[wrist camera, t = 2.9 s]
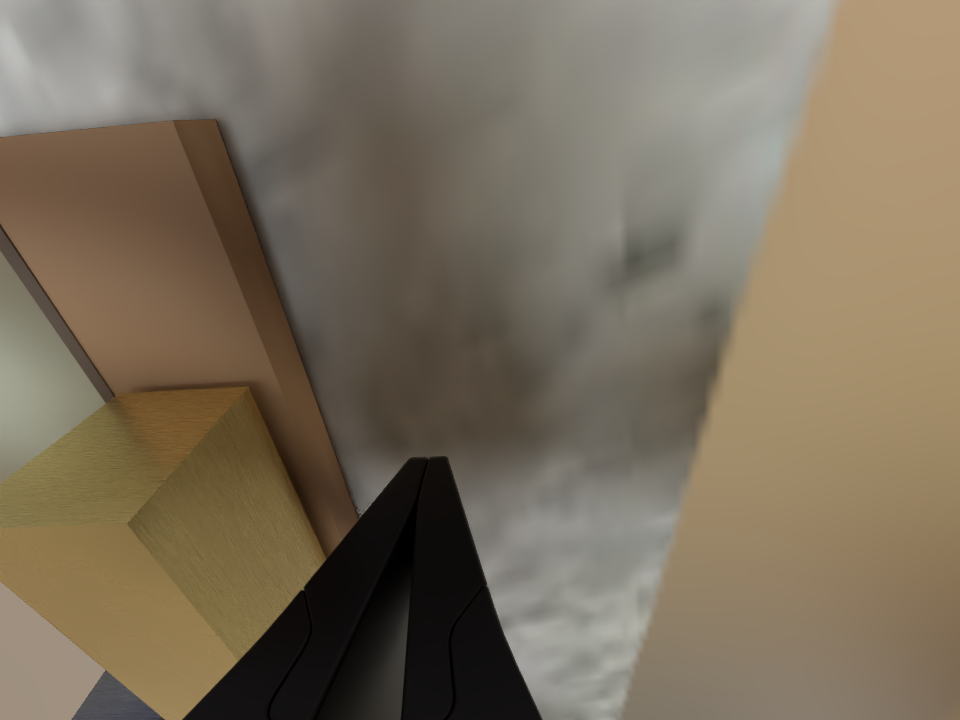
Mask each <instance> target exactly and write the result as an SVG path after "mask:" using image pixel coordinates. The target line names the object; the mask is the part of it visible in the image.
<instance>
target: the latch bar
mask: <svg viewBox="0 0 960 720" xmlns="http://www.w3.org/2000/svg"><path fill="white" fill-rule="evenodd" d="M325 560H326V557H325V555H324V552H323V550H322V548H321V546H320V544H319V541H318V539H317V537H316V535H315V533H314V530H313V528H312V526H311V524H310V522H309V519H308V517H307V515H306V513H305V510H304V508H303V506H302V504H301V502H300V499H299V497H298V495H297V493H296V491H295V488H294V486H293V484H292V482H291V480H290V477H289V475H288V473H287V471H286V469H285V466H284V464H283V462H282V460H281V458H280V455H279V453H278V451H277V449H276V447H275V444H274V442H273V440H272V438H271V436H270V433H269V431H268V429H267V427H266V425H265V422H264V420H263V418H262V416H261V413H260V411H259V409H258V407H257V405H256V402H255V400H254V398H253V396H252V394H251V391H250V389H249V387H248V386H247V387H229V388H210V389H191V390H172V391H154V392H135V393H119V394H118V395H116V396H115V397H114V398H112V399H111V400H110V401H109V402H107V403H106V404H105V405H103V406H102V407H101V408H99V409H98V410H97V411H95V412H94V413H93V414H91V415H90V416H89V417H87V418H86V419H85V420H84V421H82V422H81V423H80V424H78V425H77V426H76V427H74V428H73V429H72V430H70V431H69V432H68V433H66V434H65V435H64V436H62V437H61V438H60V439H58V440H57V441H56V442H55V443H53V444H52V445H51V446H49V447H48V448H47V449H45V450H44V451H43V452H41V453H40V454H39V455H37V456H36V457H35V458H33V459H32V460H31V461H30V462H28V463H27V464H26V465H24V466H23V467H22V468H20V469H19V470H18V471H16V472H15V473H14V474H12V475H11V476H10V477H8V478H7V479H6V480H4V481H3V482H2V483H1V484H0V582H2V583H3V584H4V585H5V586H6V587H8V588H9V589H10V590H11V591H12V592H14V593H15V594H16V595H17V596H18V597H20V598H21V599H22V600H23V601H24V602H25V603H27V604H28V605H29V606H30V607H31V608H33V609H34V610H35V611H36V612H37V613H39V614H40V615H41V616H42V617H44V618H45V619H46V620H47V621H48V622H49V623H50V624H52V625H53V626H54V627H55V628H56V629H58V630H59V631H60V632H61V633H62V634H64V635H65V636H66V637H67V638H68V639H70V640H71V641H72V642H73V643H74V644H75V645H77V646H78V647H79V648H80V649H82V650H83V651H84V652H85V653H86V654H87V655H89V656H90V657H91V658H92V659H93V660H95V661H96V662H97V663H98V664H99V665H101V666H102V667H103V668H104V669H105V670H106V671H108V672H109V673H110V674H111V675H112V676H114V677H115V678H116V679H117V680H118V681H120V682H121V683H122V684H123V685H124V686H125V687H127V688H128V689H129V690H130V691H131V692H133V693H134V694H135V695H136V696H137V697H139V698H140V699H141V700H142V701H143V702H145V703H146V704H147V705H148V706H149V707H150V708H152V709H153V710H154V711H155V712H156V713H158V714H159V715H160V716H161V717H162V718H164V719H165V720H182V719H183V718H184V717H185V716H186V715H187V714H188V713H189V712H190V711H191V710H192V709H193V708H194V707H195V706H196V705H197V703H198V702H199V701H200V700H201V699H202V698H203V697H204V696H205V695H206V694H207V693H208V692H209V691H210V690H211V689H212V688H213V687H214V686H215V685H216V684H217V683H218V682H219V681H220V680H221V679H222V678H223V677H224V676H225V674H226V673H227V672H228V671H229V670H230V669H231V668H232V667H233V666H234V665H235V664H236V663H237V662H238V661H239V660H240V659H241V658H242V657H243V656H244V654H245V653H246V652H247V651H248V650H249V649H250V648H251V647H252V646H253V645H254V644H255V643H256V642H257V640H258V639H259V638H260V637H261V636H262V635H263V634H264V633H265V632H266V630H267V629H268V628H269V627H270V626H271V625H272V623H273V622H274V621H275V620H276V619H277V618H278V617H279V615H280V614H281V613H282V612H283V611H284V610H285V608H286V607H287V606H288V605H289V604H290V602H291V601H292V600H293V599H294V598H295V596H296V595H297V594H298V593H299V591H300V590H304V586H305V584H306V583H307V582H308V581H309V580H310V578H311V577H312V576H313V575H314V573H315V572H316V571H317V570H318V569H319V567H320V566H321V565H322V564H323V563H324V561H325Z"/></svg>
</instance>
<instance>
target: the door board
mask: <svg viewBox="0 0 960 720" xmlns="http://www.w3.org/2000/svg"><path fill="white" fill-rule="evenodd" d="M247 386H248V387H249V389H250V391H251V394H252V396H253V398H254V400H255V402H256V405H257V407H258V409H259V411H260V413H261V416H262V418H263V420H264V422H265V425H266V427H267V429H268V431H269V433H270V436H271V438H272V440H273V442H274V444H275V447H276V449H277V451H278V453H279V455H280V458H281V460H282V462H283V464H284V466H285V469H286V471H287V473H288V475H289V477H290V480H291V482H292V484H293V486H294V488H295V491H296V493H297V495H298V497H299V499H300V502H301V504H302V506H303V508H304V510H305V513H306V515H307V517H308V519H309V522H310V524H311V526H312V528H313V530H314V533H315V535H316V537H317V539H318V541H319V544H320V546H321V548H322V550H323V552H324V555H325V557H326V559H327V558H328V557H329V555H330V554H331V553H332V552H333V550H334V549H335V548H336V547H337V546H338V544H339V543H340V542H341V541H342V540H343V538H344V537H345V536H346V535H347V533H348V532H349V531H350V530H351V529H352V527H353V526H354V525H355V524H356V523H357V521H358V517H357V514H356V512H355V509H354V506H353V503H352V500H351V498H350V495H349V492H348V489H347V486H346V484H345V481H344V478H343V475H342V472H341V470H340V467H339V464H338V461H337V458H336V456H335V453H334V450H333V447H332V444H331V442H330V439H329V436H328V433H327V430H326V428H325V425H324V422H323V419H322V417H321V414H320V411H319V408H318V405H317V403H316V400H315V397H314V394H313V391H312V389H311V386H310V383H309V380H308V377H307V375H306V372H305V369H304V366H303V363H302V361H301V358H300V355H299V352H298V349H297V347H296V344H295V341H294V338H293V335H292V333H291V330H290V327H289V324H288V321H287V319H286V316H285V313H284V310H283V307H282V305H281V302H280V299H279V296H278V293H277V291H276V288H275V285H274V282H273V279H272V277H271V274H270V271H269V268H268V265H267V263H266V260H265V257H264V254H263V252H262V249H261V246H260V243H259V240H258V238H257V235H256V232H255V229H254V226H253V224H252V221H251V218H250V215H249V212H248V210H247V207H246V204H245V201H244V198H243V196H242V193H241V190H240V187H239V184H238V182H237V179H236V176H235V173H234V170H233V168H232V165H231V162H230V159H229V156H228V154H227V151H226V148H225V145H224V142H223V140H222V137H221V134H220V131H219V128H218V126H217V123H216V120H215V119H205V120H174V121H163V122H152V123H142V124H132V125H122V126H111V127H101V128H91V129H80V130H70V131H60V132H49V133H39V134H29V135H18V136H8V137H0V484H1V483H2V482H3V481H4V480H6V479H7V478H8V477H10V476H11V475H12V474H14V473H15V472H16V471H18V470H19V469H20V468H22V467H23V466H24V465H26V464H27V463H28V462H30V461H31V460H32V459H33V458H35V457H36V456H37V455H39V454H40V453H41V452H43V451H44V450H45V449H47V448H48V447H49V446H51V445H52V444H53V443H55V442H56V441H57V440H58V439H60V438H61V437H62V436H64V435H65V434H66V433H68V432H69V431H70V430H72V429H73V428H74V427H76V426H77V425H78V424H80V423H81V422H82V421H84V420H85V419H86V418H87V417H89V416H90V415H91V414H93V413H94V412H95V411H97V410H98V409H99V408H101V407H102V406H103V405H105V404H106V403H107V402H109V401H110V400H111V399H112V398H114V397H115V396H116V395H118V394H119V393H135V392H154V391H172V390H191V389H210V388H229V387H247Z"/></svg>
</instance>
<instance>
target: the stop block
mask: <svg viewBox="0 0 960 720" xmlns="http://www.w3.org/2000/svg"><path fill="white" fill-rule="evenodd" d="M72 720H165V719H164V718H162V717H161V716H160V715H159V714H158V713H156V712H155V711H154V710H153V709H152V708H150V707H149V706H148V705H147V704H146V703H145V702H143V701H142V700H141V699H140V698H139V697H137V696H136V695H135V694H134V693H133V692H131V691H130V690H129V689H128V688H127V687H125V686H124V685H123V684H122V683H121V682H120V681H118V680H117V679H116V678H115V677H114V676H112V675H111V674H110V673H109V672H108V671H105V672H104V673H103V675H102V676H101V678H100V679H99V681H98V682H97V684H96V685H95V687H94V688H93V689H92V691H91V692H90V694H89V695H88V697H87V698H86V700H85V701H84V703H83V704H82V705H81V707H80V708H79V710H78V711H77V713H76V714H75V716H74V717H73V718H72Z"/></svg>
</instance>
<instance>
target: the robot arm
mask: <svg viewBox="0 0 960 720" xmlns="http://www.w3.org/2000/svg"><path fill="white" fill-rule="evenodd" d="M182 720H543V719H542V717H541V715H540V713H539V711H538V709H537V706H536V704H535V702H534V700H533V698H532V696H531V693H530V691H529V689H528V687H527V685H526V683H525V681H524V678H523V676H522V674H521V672H520V670H519V668H518V665H517V663H516V661H515V658H514V656H513V654H512V651H511V649H510V647H509V644H508V642H507V640H506V637H505V635H504V632H503V630H502V627H501V624H500V621H499V618H498V615H497V612H496V610H495V607H494V604H493V600H492V597H491V594H490V591H489V588H488V587H487V582H486V579H485V575H484V572H483V569H482V566H481V563H480V559H479V556H478V553H477V550H476V547H475V543H474V540H473V537H472V534H471V531H470V527H469V524H468V521H467V518H466V514H465V511H464V508H463V505H462V502H461V498H460V495H459V492H458V489H457V486H456V482H455V479H454V476H453V473H452V470H451V466H450V463H449V460H448V458H447V457H446V456H435V457H430V458H429V459H428V458H427V457H412V458H410V459H409V460H408V461H407V462H406V463H405V464H404V466H403V467H402V468H401V469H400V470H399V472H398V473H397V474H396V475H395V476H394V478H393V479H392V480H391V481H390V483H389V484H388V485H387V486H386V487H385V489H384V490H383V491H382V492H381V493H380V495H379V496H378V497H377V498H376V499H375V501H374V502H373V503H372V504H371V506H370V507H369V508H368V509H367V510H366V512H365V513H364V514H363V515H362V516H361V518H360V519H359V520H358V521H357V523H356V524H355V525H354V526H353V527H352V529H351V530H350V531H349V532H348V533H347V535H346V536H345V537H344V538H343V540H342V541H341V542H340V543H339V544H338V546H337V547H336V548H335V549H334V550H333V552H332V553H331V554H330V555H329V557H328V558H327V559H326V560H325V561H324V563H323V564H322V565H321V566H320V567H319V569H318V570H317V571H316V572H315V573H314V575H313V576H312V577H311V578H310V580H309V581H308V582H307V583H306V584H305V586H304V590H300V591H299V593H298V594H297V595H296V596H295V598H294V599H293V600H292V601H291V602H290V604H289V605H288V606H287V607H286V608H285V610H284V611H283V612H282V613H281V614H280V615H279V617H278V618H277V619H276V620H275V621H274V622H273V623H272V625H271V626H270V627H269V628H268V629H267V630H266V632H265V633H264V634H263V635H262V636H261V637H260V638H259V639H258V640H257V642H256V643H255V644H254V645H253V646H252V647H251V648H250V649H249V650H248V651H247V652H246V653H245V654H244V656H243V657H242V658H241V659H240V660H239V661H238V662H237V663H236V664H235V665H234V666H233V667H232V668H231V669H230V670H229V671H228V672H227V673H226V674H225V676H224V677H223V678H222V679H221V680H220V681H219V682H218V683H217V684H216V685H215V686H214V687H213V688H212V689H211V690H210V691H209V692H208V693H207V694H206V695H205V696H204V697H203V698H202V699H201V700H200V701H199V702H198V703H197V705H196V706H195V707H194V708H193V709H192V710H191V711H190V712H189V713H188V714H187V715H186V716H185V717H184V718H183V719H182Z"/></svg>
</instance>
